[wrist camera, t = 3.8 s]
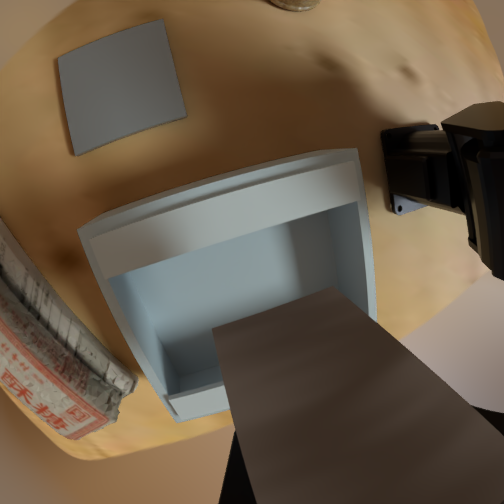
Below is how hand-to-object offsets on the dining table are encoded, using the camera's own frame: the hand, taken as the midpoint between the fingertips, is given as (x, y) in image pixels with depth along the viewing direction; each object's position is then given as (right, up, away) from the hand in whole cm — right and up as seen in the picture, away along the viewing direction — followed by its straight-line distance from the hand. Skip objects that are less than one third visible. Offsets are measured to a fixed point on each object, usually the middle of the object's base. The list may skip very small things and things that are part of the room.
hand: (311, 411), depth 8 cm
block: (0, +1, +2) cm, 2 cm away
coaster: (-10, +15, +6) cm, 19 cm away
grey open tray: (-3, +3, +11) cm, 12 cm away
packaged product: (-19, -1, +9) cm, 21 cm away
